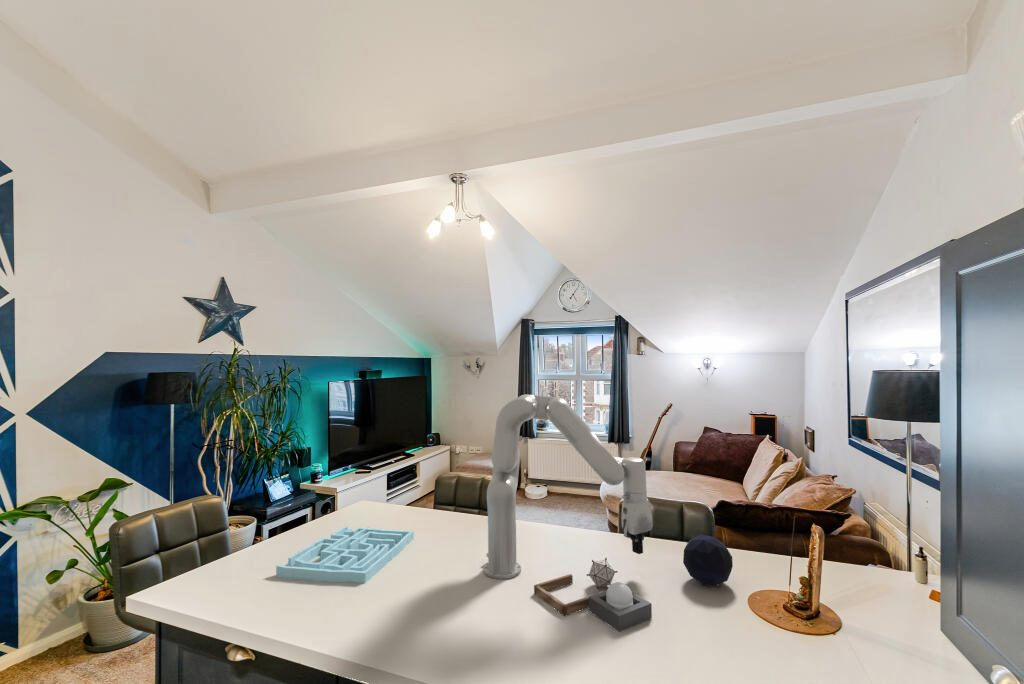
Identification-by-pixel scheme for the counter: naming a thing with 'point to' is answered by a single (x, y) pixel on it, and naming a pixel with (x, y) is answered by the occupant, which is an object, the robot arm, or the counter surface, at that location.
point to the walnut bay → (554, 602)
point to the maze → (347, 555)
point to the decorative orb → (707, 560)
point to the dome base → (620, 611)
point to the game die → (601, 573)
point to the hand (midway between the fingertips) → (637, 552)
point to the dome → (619, 596)
